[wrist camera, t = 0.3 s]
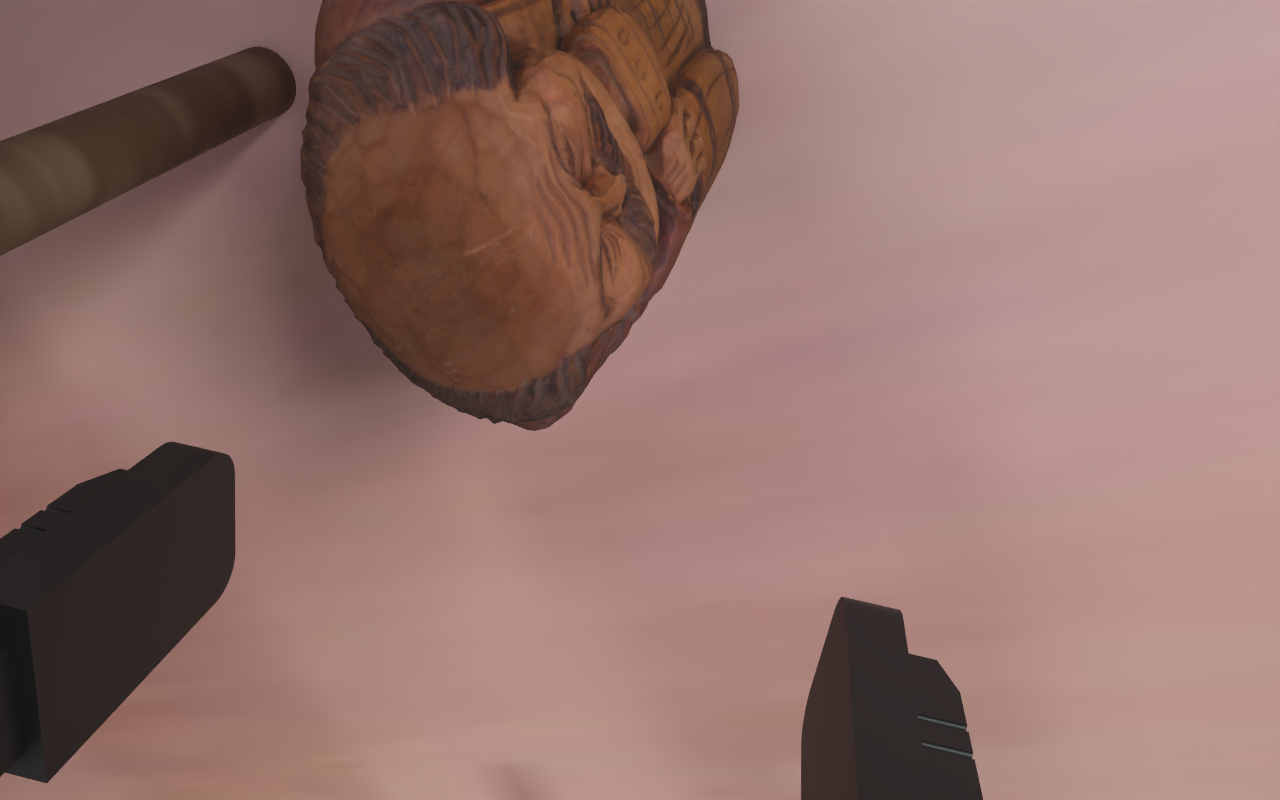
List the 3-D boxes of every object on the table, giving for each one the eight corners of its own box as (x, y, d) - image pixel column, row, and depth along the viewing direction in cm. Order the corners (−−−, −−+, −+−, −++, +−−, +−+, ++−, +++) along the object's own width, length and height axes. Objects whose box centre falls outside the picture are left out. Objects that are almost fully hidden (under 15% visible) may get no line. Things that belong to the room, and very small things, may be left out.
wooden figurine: (783, 186, 34) (713, 487, 19) (617, 244, 36) (436, 554, 21) (648, -179, 29) (408, -173, 14) (467, -86, 31) (94, 7, 16)
